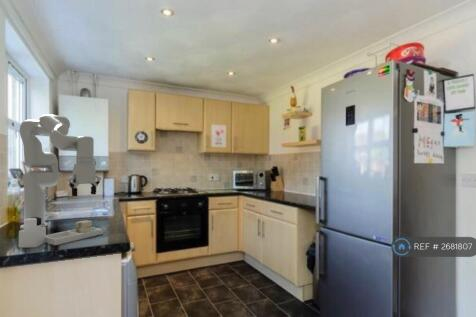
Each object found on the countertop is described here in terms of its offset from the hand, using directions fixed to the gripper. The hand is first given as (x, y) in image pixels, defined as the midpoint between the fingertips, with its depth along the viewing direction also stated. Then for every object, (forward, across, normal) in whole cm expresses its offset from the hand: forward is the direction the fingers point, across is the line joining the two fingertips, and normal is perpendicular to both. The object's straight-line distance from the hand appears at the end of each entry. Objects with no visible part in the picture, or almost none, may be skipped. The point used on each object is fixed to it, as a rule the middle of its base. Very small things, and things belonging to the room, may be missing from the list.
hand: (84, 195), depth 139 cm
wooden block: (+19, 0, 0) cm, 19 cm away
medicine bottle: (+20, +21, -3) cm, 29 cm away
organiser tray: (+20, +5, 0) cm, 21 cm away
